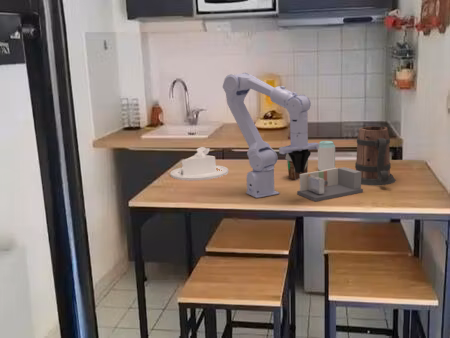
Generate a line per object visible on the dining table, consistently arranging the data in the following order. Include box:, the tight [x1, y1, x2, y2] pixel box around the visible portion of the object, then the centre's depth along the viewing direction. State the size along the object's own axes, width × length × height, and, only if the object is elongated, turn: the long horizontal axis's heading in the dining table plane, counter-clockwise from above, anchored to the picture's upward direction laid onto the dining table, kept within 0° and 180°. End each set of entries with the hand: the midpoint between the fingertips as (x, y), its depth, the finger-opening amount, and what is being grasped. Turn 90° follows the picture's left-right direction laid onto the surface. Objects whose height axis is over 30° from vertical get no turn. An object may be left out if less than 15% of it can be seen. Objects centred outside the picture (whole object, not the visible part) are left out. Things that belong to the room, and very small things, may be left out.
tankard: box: [354, 125, 397, 187], centre depth 189 cm, size 24×17×20 cm
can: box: [317, 140, 336, 171], centre depth 211 cm, size 7×7×12 cm
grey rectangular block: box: [307, 174, 328, 194], centre depth 176 cm, size 6×8×5 cm
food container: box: [285, 153, 309, 181], centre depth 203 cm, size 12×6×10 cm, turn 141°
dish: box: [170, 146, 229, 182], centre depth 217 cm, size 25×25×11 cm
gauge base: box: [296, 166, 364, 202], centre depth 178 cm, size 20×11×7 cm, turn 116°
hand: (299, 172), depth 172 cm, fingers closed
